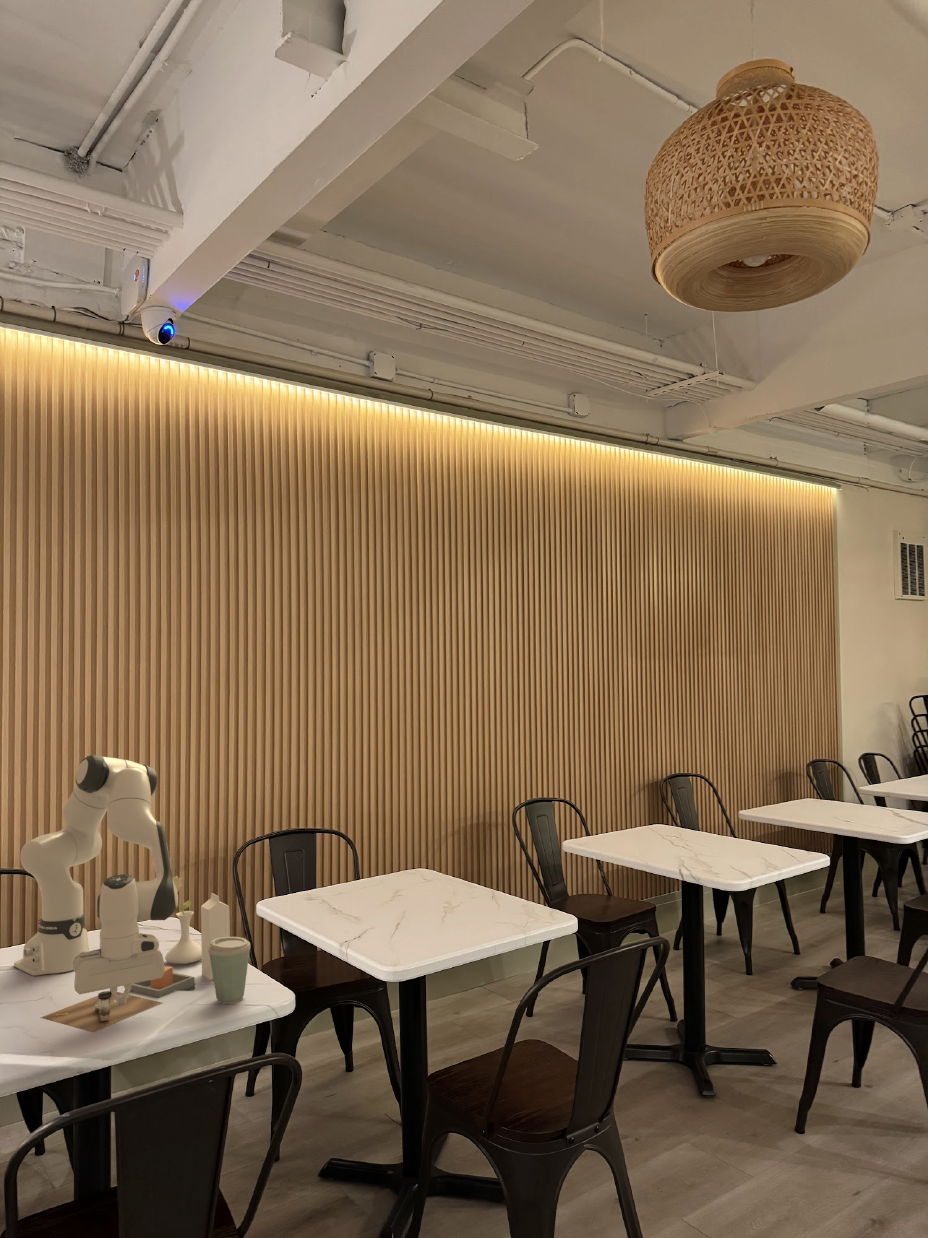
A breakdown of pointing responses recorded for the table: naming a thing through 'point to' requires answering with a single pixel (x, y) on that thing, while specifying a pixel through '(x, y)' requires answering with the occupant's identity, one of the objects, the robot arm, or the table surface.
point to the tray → (179, 984)
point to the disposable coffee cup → (229, 967)
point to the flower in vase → (184, 936)
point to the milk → (212, 929)
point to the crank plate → (90, 1020)
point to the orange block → (163, 979)
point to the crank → (104, 1005)
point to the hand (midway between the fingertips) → (120, 1004)
